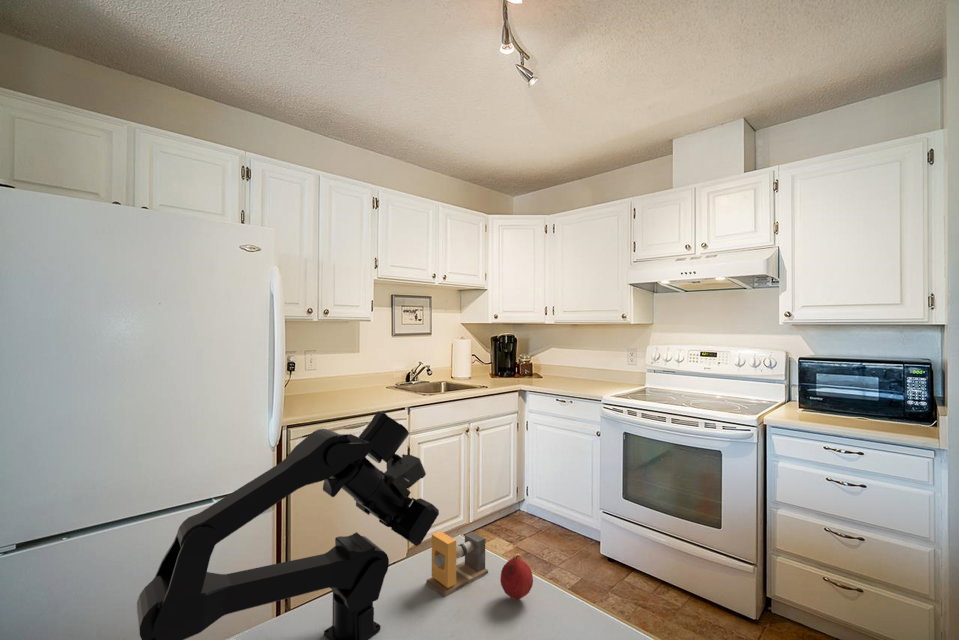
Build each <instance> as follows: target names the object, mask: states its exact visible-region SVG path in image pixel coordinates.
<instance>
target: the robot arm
mask: <svg viewBox="0 0 959 640" xmlns="http://www.w3.org/2000/svg"><path fill="white" fill-rule="evenodd" d="M409 435H410V433H409V430H408V429H407V428H406V427H405V426H404V425H403V424H401V423H399V422H398V421H396V420H395V419H394V418H392V417H390V416H388V415H387V414H386V413H385V412H382V411H379V410H378V411H377V412H376V413H375V414H374V416H373V418H372V419H371V421H370V422H369V423H368V425H367V426H366V427H365V428H364V429H363V431H362V432H361V433H360V434H359V435H358V436H356V435H355V434H351V433H348V434H345V433H344V434H343V433H342V434H340V433H338V432H336V431H334V430H331V429H326V428H320V429H316V430H314V431H313V432H311V433H310V434H309V435H308V436H306V437H305V438H303V440H301V441H300V442H298V444H297V445H296V446H295V447H294V448H293V449H292V450H291V451H290V453H289V454H288V455H287V456H286V457H285V458H284V459H283V460H282V461H280V462H279V463H278V464H276V465H275V466H273V467H272V468H270V469H267V471H265V472H264V473H262V474H260V475H259V476H257V477H256V478H255V477H254V479H252V480H250V481H249V482H246V483H245V484H244V485H241V487H239V488H238V489H235V490H234V491H232V492H231V493H229V494H228V495H226V496H225V497H223V498H221V499H219V500H218V501H217V502H215V503H212V505H210V506H208V507H206V508H205V509H203V510H202V511H200V512H199V513H196V514H194V515H191V516H189V517H187V518H186V519H185V520H183V521H182V523H181V524H180V525H179V527H178V529H177V533H176V535H175V538H174V540H173V542H172V543H171V545H170V547H169V548H168V550H167V552H165V555H164V557H163V558H162V560H161V562H160V564H159V567H158V569H157V571H156V573H155V575H154V578H152V580H151V581H150V582H149V583H148V584H147V585H146V586H145V587H144V588H143V589H142V591H141V592H140V593H139V596H138V599H137V600H136V614H137V621H138V622H137V623H138V632H139V637H140V639H141V640H187V639H189V638H191V637H192V638H193V637H194V636H196V635H199V634H201V633H202V632H204V630H206V629H207V628H209V627H210V626H211V625H213V624H214V623H215V622H217V621H218V620H219V619H221V618H223V617H224V616H227V615H230V614H234V613H238V612H241V611H244V610H248V609H252V608H255V607H260V606H265V605H267V604H271V603H276V602H280V601H283V600H287V599H291V598H294V597H299V596H303V595H307V594H311V593H314V592H317V591H321V590H325V589H328V588H329V589H331V590H332V621H331V626H329V627H328V628H326V629H325V630H324V631H323V636H324V637H326V638H327V639H328V640H368V639H370V638H371V637H372V636H374V635H375V634H376V633H378V632H380V630H381V624H379V623H378V622H376V621H375V620H374V619H375V607H374V602H376V601H378V600H379V598H380V593H381V591H382V588H383V584H384V580H385V576H386V574H387V572H388V569H389V566H390V561H389V556H388V554H387V553H386V552H385V551H384V550H382V548H380V547H379V546H378V545H376V543H374V542H373V541H372V540H370V539H369V538H368V537H366V536H364V535H361V534H360V533H359V532H354V533H353V534H350V535H347V536H346V535H345V536H342V535H341V536H337V537H335V539H334V541H335V545H334V546H333V547H332V548H331V549H330V550H329V551H326V553H321V554H317V555H312V556H308V557H307V556H306V557H303V558H302V557H301V558H298V559H292V560H287V561H284V562H278V563H273V564H269V565H264V566H258V567H255V568H249V569H246V570H240V571H236V572H231V573H225V574H223V573H218V572H217V573H216V572H210V571H208V568H209V564H210V560H211V557H212V554H213V551H214V550H215V549H214V548H215V546H216V545H217V544H218V543H220V542H221V541H223V540H224V539H226V538H228V537H229V536H231V535H232V534H233V533H235V532H236V531H238V530H239V529H241V528H243V527H244V526H246V524H248V523H250V522H251V521H252V520H255V519H256V518H258V517H259V516H260V515H262V514H263V513H265V512H266V511H268V510H269V509H270V508H272V507H273V506H276V505H277V504H278V503H279V502H281V501H282V500H284V499H285V498H287V497H289V496H290V495H291V494H293V493H294V492H296V491H297V490H299V489H301V488H303V487H306V486H309V485H313V484H315V483H320V482H323V483H322V484H323V485H322V491H323V492H324V493H326V494H327V495H328V496H330V497H331V498H335V497H336V496H337V495H338V493H339V492H340V491H341V490H343V491H344V492H346V493H347V494H348V495H349V496H350V497H352V499H353V501H355V507H357V508H358V509H359V510H360V511H361V512H363V513H365V514H366V515H368V516H370V514H371V515H372V516H373V517H376V518H377V519H378V521H379V523H381V524H382V525H384V526H385V527H387V528H391V529H390V530H391V531H393V532H394V533H396V534H397V535H399V536H401V538H403V539H404V540H406V541H407V542H410V543H411V545H413V546H415V547H417V546H419V545H421V544H422V542H423V540H424V539H425V538H426V536H427V534H428V532H429V531H430V530H431V527H432V526H433V524H434V523H435V522H436V519H437V518H438V516H439V515H440V512H439V511H440V510H439V509H438V508H437V507H436V505H434V504H433V503H431V502H430V501H427V500H425V499H423V498H421V497H419V498H417V499H416V498H414V497H410V494H411V493H412V491H410V490H409V489H410V488H411V487H412V486H414V485H415V484H416V483H418V482H419V481H420V480H421V479H423V478H425V476H426V474H427V473H426V471H425V468H424V466H423V463H422V461H421V458H419V457H417V456H414V455H412V454H401V456H400V455H399V454H397V453H396V452H397V451H398V450H399V449H400V447H401V446H402V445H403V443H404V442H405V441H406V439H407V438H408V436H409ZM367 457H369V458H370V459H371V460H373V461H374V462H376V463H377V464H381V463H382V461H384V463H386V464H385V465H386V471H383V470H380V469H379V468H378V467H377V466H376V465H374V463H372V462H371V461H370V460H369V459H368V458H367Z"/></svg>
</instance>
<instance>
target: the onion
mask: <svg viewBox="0 0 959 640" xmlns="http://www.w3.org/2000/svg"><path fill="white" fill-rule="evenodd" d="M521 558H522V555H521V554H520V553H515V554H514V556H512V558H511V559H509V560H508V561H507V562H506V563H505V564H504V565H503V566H502V569H501V573H500V578H499V579H500V585H501V587H502V590H503V591H504V593H505V594H506V595H507V596H508V597H510V598H511V599H513V600H516V601H520V600H521V599H523V598H524V597H526V596H527V595H528V594H529V593H530V591H531V590H532V588H533V585H534V576H533V571H532V569H531V568H530V566H529V565H528V563H527V562H526V561H524V560H523V559H521Z"/></svg>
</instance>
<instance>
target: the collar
mask: <svg viewBox="0 0 959 640" xmlns="http://www.w3.org/2000/svg"><path fill="white" fill-rule="evenodd" d="M456 547H457V540H456V539H454V538H453V537H451V536H449V535H448V534H446V533H444V532H442V531H436V532H434V533H432V534H431V578H432V577H433V578H434V579H436V580H437V581H439V582H440V583H441V584H443V585H444V586H446V587H447V588H449V587H451V586H453V585H455V584H456V565H457V559H456ZM439 554H443V555H444V556H445V565H443V566H441V567H437V566H436V564H435V562H434V558H435V556H437V555H439Z"/></svg>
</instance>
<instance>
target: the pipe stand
mask: <svg viewBox="0 0 959 640" xmlns="http://www.w3.org/2000/svg"><path fill="white" fill-rule="evenodd" d="M463 557H464V560H463V562H461V563H458V564H456V584H455V585H453V586H451V587H449V588H447V587H446V586H444V585H443V584H441V583H440V582H439V581H437V580H436V579H434V578H433V577H432V576H431V577H430V578H427V579H426V580H425V581H426V582H425V583H426V585H428V586H429V587H431V588H432V589H434V590H435V591H436V592H438V593H439V594H441V595H442V596H443V597H447V596H448V595H450V594H452V593H454V592H456V591H458V590H460V589H461V588H463V587H465V586H467V585H469V584H471V583H472V582H474V581H476V580H477V579H480V578H481V577H484V576H485V575H487V574H489V570H488V569H487V568H486V538H485V537H483V536H481V535H479V534H477V533H475V532H474V531H470V532H468V533H465V534H464V543H459V544H458V545H456V560H458V559H460V558H463ZM434 562H435V564H436V566H437V567H441V566H443V565H445V556H444V555H443V554H439V555H437V556H435V558H434Z"/></svg>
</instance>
